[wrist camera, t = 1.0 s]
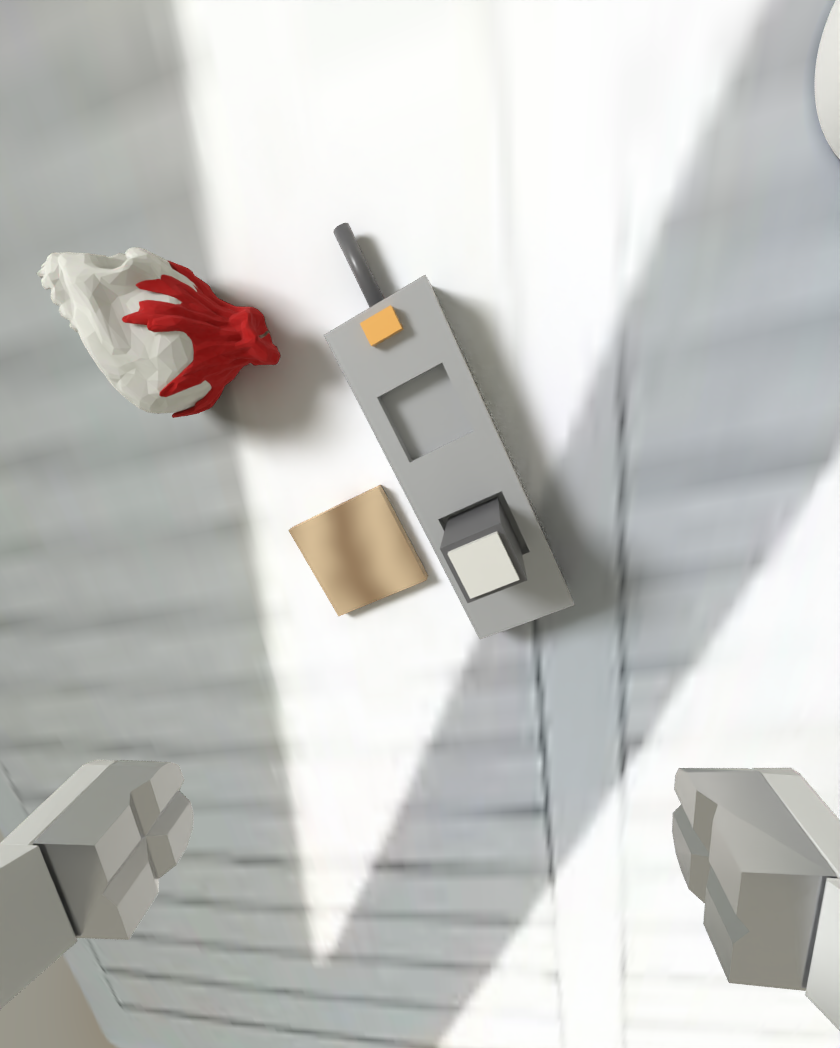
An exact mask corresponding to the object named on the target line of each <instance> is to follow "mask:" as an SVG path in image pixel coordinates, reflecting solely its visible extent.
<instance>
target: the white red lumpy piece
mask: <svg viewBox="0 0 840 1048" xmlns="http://www.w3.org/2000/svg"><path fill="white" fill-rule="evenodd" d="M41 266H42V269H40V270H39V271H38V272H37V275H38V276H39V277H41V278H42V280H41V282H42V286H43V287H44V288H45V289H51V300H52V301H53V303H54V304H56V305H60V308H59V312H60V314H61V316H62V317H64V318H66V319H68V320H69V321H70V327H71V328H73V329H74V330H75V331H76V332H79V335H80V338H81V340H82V342H83V343H84V345H85V347H86V349H87V351H88V352H89V354H90V355H91V357H92V358H93V360H94V361H95V363H96V364H97V366H98V367H99V369H100V370H101V371H102V372H103V373H104V374H105V376H106V377H107V379H108V381H109V382H110V383H111V384H112V385H113V386H114V387H115V389H116V390H117V391H118V392H119V393H121V394H122V395H123V396H124V397H125V398H126V399H128V400H129V401H130V402H131V403H133V404H134V405H135V406H137V407H138V408H140V409H142V410H144V411H146V412H150V413H157V414H159V413H173V412H176V413H174V414H173V415H172V417H173V418H174V417H181V416H188V415H192V414H197V413H200V412H202V411H205V410H207V409H210V408H211V407H212V406H213V405H214V404H215V402H216V401H217V400H218V399H219V397H220V395H221V393H222V391H223V389H224V387H225V385H227V384H228V383H229V382H231V381H232V380H233V379H234V378H235V377H236V375H237V374H238V373H239V371H240V370H241V369H242V368H243V367H244V366H246V365H247V364H249V363H252V364H253V365H276V364H277V363H278V361H279V359H280V353H279V351H278V349H277V347H276V346H275V345H274V344H272V339H271V336H270V333H269V331H268V329H267V327H266V323H265V318H264V315H263V314H262V313H261V312H260V311H259V310H258V309H256V308H254V307H236V306H234V305H231V304H229V303H227V302H225V301H223V300H221V299H219V298H217V296H216V295H215V294H214V293H213V292H212V290H211V288H210V286H209V285H207V284H206V283H205V282H204V281H202V280H201V279H199V278H198V277H196V276H195V275H194V274H193V272H192V271H191V270H189V269H188V268H186V267H183V266H181V265H178V264H176V263H173V262H171V261H168V260H167V261H166V260H164V259H163V258H161V257H159V256H157V255H155V254H153V253H151V252H149V251H147V250H145V249H142V248H137V247H133V248H130V249H128V250H127V251H126V253H125V254H122V253H119V254H116V255H114V256H110V257H106V256H104V255H95V254H89V253H72V252H65V253H52V254H50V255H49V256H48V257H47V261H46V262H45V263H44V264H43V265H41Z"/></svg>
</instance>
